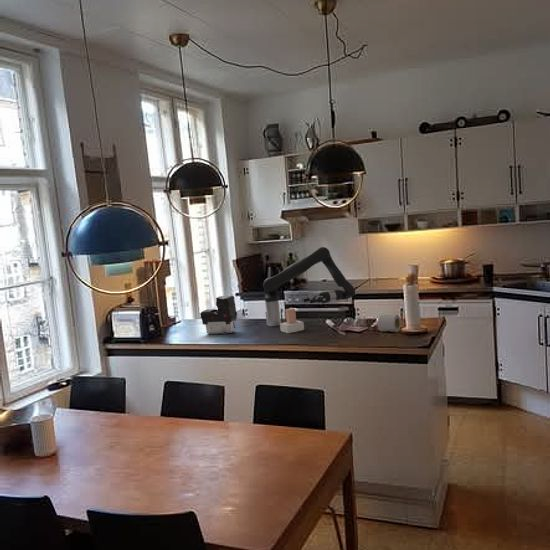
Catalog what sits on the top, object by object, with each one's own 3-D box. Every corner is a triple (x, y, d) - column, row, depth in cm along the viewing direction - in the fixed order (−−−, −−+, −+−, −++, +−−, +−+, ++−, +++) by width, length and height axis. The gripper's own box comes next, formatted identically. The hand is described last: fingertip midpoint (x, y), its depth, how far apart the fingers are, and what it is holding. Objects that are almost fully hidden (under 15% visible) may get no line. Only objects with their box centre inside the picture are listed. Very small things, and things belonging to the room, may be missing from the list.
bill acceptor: (209, 332, 386) (205, 296, 383) (239, 331, 378) (235, 295, 375) (202, 335, 376) (197, 299, 373) (233, 334, 368) (228, 297, 365)
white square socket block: (287, 334, 350) (286, 324, 350) (280, 332, 359) (279, 322, 359) (304, 331, 355) (303, 321, 355) (297, 329, 364) (296, 319, 364)
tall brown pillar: (290, 331, 354) (288, 310, 353) (287, 330, 358) (285, 309, 356) (297, 330, 356) (295, 308, 355) (294, 329, 360) (292, 308, 359)
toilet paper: (401, 329, 331) (400, 313, 330) (394, 333, 323) (393, 316, 322) (385, 329, 337) (384, 313, 336) (378, 332, 329) (377, 316, 328)
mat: (296, 334, 347) (296, 334, 347) (308, 330, 356) (308, 329, 356) (307, 336, 341) (306, 335, 341) (319, 331, 349) (319, 330, 349)
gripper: (321, 290, 373) (300, 294, 367) (332, 292, 361) (311, 296, 354) (322, 301, 374) (302, 305, 367) (334, 303, 361) (312, 307, 355)
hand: (306, 301), depth 361 cm, fingers open, 8 cm apart
